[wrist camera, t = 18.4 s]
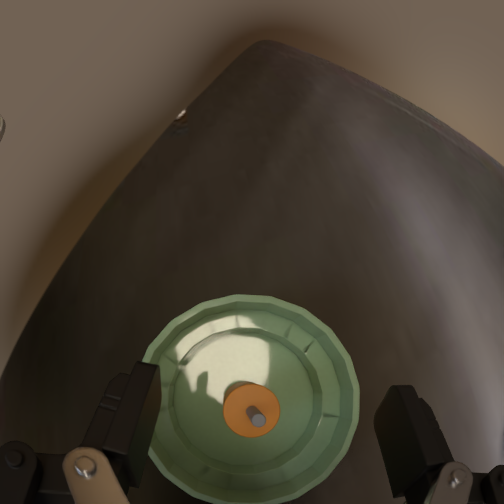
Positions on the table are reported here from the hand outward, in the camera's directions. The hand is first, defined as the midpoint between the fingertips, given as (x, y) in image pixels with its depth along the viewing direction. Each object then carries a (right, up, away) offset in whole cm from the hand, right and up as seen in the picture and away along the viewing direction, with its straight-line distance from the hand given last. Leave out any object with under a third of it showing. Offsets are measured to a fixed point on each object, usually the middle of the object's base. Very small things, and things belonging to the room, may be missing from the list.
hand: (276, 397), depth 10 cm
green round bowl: (-1, -7, +14) cm, 16 cm away
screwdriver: (-1, -7, +14) cm, 16 cm away
